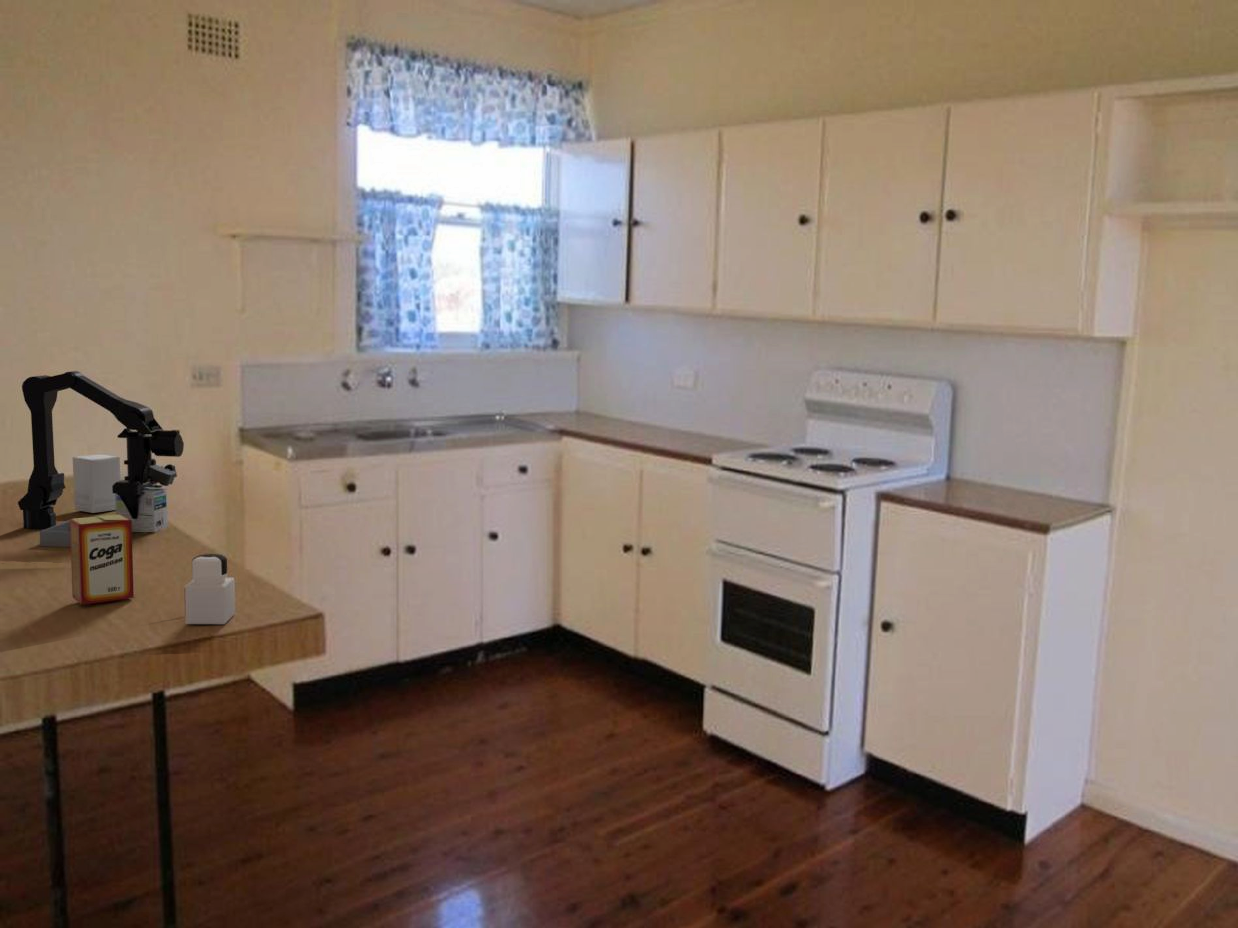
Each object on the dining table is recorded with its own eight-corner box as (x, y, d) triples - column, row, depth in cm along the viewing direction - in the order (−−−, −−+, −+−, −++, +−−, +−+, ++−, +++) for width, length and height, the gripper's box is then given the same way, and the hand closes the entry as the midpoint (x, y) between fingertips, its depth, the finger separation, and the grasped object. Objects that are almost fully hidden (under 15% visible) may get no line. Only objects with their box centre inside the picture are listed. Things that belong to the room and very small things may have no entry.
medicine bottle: (196, 613, 203) (195, 551, 201) (235, 614, 203) (234, 551, 202) (184, 624, 196) (183, 559, 194) (225, 624, 196) (224, 560, 195)
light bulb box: (169, 528, 279) (168, 487, 277) (155, 533, 272) (154, 491, 271) (129, 526, 280) (128, 485, 278) (115, 531, 273) (113, 489, 272)
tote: (40, 546, 254) (39, 531, 254) (71, 533, 269) (71, 519, 269) (105, 547, 254) (104, 533, 254) (133, 534, 270) (132, 521, 269)
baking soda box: (81, 604, 206) (78, 522, 204) (72, 597, 211) (69, 517, 209) (133, 597, 212) (131, 517, 210) (123, 590, 217) (121, 512, 215)
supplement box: (122, 509, 303) (121, 456, 301) (92, 513, 295) (90, 459, 293) (103, 505, 307) (102, 453, 305) (73, 509, 300) (71, 456, 298)
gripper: (156, 461, 264) (157, 524, 266) (185, 452, 283) (186, 510, 285) (110, 460, 264) (112, 522, 266) (142, 450, 283) (144, 509, 285)
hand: (141, 516), depth 275 cm, fingers closed on light bulb box, 7 cm apart
